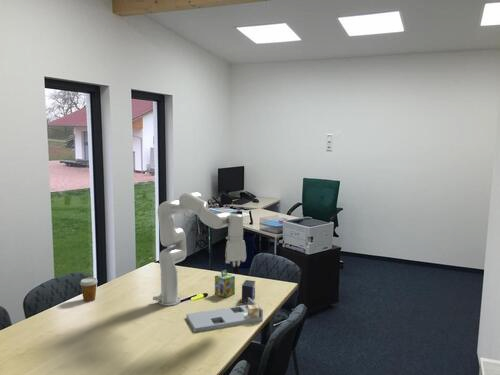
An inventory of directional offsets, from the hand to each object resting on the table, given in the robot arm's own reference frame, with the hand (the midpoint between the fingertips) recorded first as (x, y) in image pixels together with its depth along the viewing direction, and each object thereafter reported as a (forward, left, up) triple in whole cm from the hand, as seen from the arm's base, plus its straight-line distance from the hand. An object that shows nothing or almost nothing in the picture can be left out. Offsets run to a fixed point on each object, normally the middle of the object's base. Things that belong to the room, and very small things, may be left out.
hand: (235, 273), depth 205 cm
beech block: (+9, -3, -23) cm, 25 cm away
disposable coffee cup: (-70, +57, -25) cm, 94 cm away
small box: (+17, +23, -25) cm, 38 cm away
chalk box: (+7, +37, -25) cm, 45 cm away
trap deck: (-5, +3, -25) cm, 26 cm away
